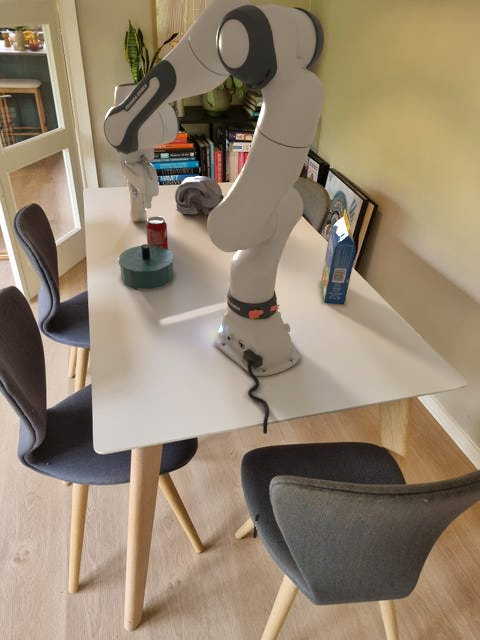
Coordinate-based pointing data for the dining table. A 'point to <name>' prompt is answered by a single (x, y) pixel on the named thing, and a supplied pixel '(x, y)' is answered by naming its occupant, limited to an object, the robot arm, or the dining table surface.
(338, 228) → the blue food package
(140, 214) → the plastic bottle
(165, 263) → the pan lid
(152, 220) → the soda can
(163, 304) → the dining table surface
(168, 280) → the pan
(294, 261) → the dining table surface
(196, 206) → the grey cloth bundle
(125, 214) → the dining table surface
